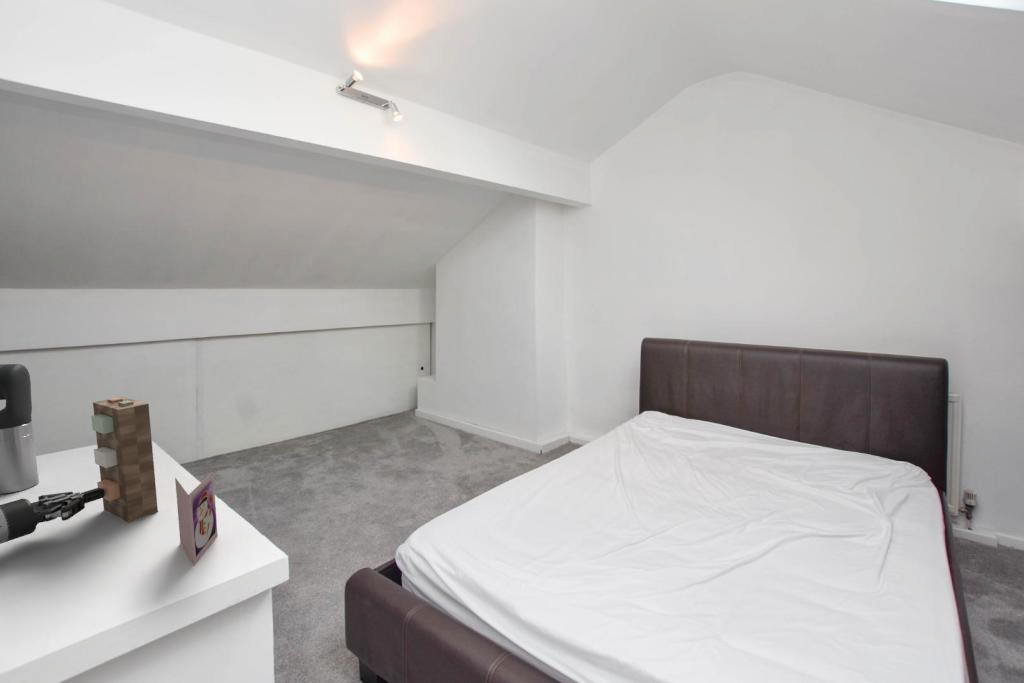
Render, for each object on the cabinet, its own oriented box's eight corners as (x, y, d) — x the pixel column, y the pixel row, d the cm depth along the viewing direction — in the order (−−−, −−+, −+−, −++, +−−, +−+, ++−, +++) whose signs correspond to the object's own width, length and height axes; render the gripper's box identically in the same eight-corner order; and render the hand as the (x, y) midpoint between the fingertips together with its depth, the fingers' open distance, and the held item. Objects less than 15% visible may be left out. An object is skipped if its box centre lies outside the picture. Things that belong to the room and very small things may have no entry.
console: (103, 510, 119) (92, 399, 115) (132, 500, 124) (122, 394, 120) (129, 522, 113) (118, 407, 109) (157, 511, 118) (148, 401, 115)
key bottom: (98, 496, 115) (97, 482, 114) (114, 490, 118) (113, 477, 117) (109, 501, 112) (108, 487, 112) (125, 495, 115) (124, 482, 115)
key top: (92, 430, 113) (91, 415, 112) (109, 426, 116) (107, 412, 115) (103, 433, 110) (102, 419, 110) (120, 430, 113) (119, 415, 113)
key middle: (95, 463, 114) (93, 449, 113) (111, 459, 116) (110, 445, 116) (106, 468, 111) (104, 453, 111) (122, 463, 114) (121, 449, 114)
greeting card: (198, 566, 97) (193, 494, 95) (157, 569, 96) (150, 497, 94) (221, 535, 108) (217, 471, 106) (185, 538, 107) (179, 473, 105)
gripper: (9, 515, 94) (115, 482, 110) (-17, 499, 101) (87, 470, 116) (13, 551, 95) (118, 514, 111) (-12, 533, 102) (90, 500, 117)
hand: (102, 492), depth 113 cm, fingers closed
